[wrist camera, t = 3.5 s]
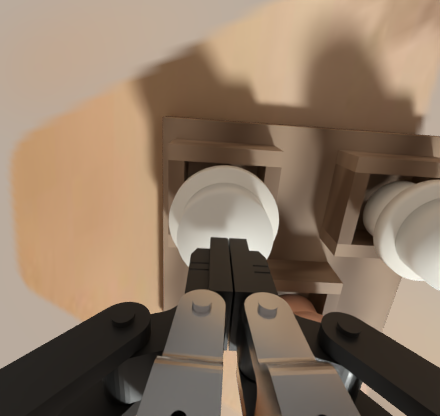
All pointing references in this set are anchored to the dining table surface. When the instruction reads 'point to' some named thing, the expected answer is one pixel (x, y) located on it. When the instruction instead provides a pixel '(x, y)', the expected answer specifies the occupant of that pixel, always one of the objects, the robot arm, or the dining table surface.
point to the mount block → (304, 203)
